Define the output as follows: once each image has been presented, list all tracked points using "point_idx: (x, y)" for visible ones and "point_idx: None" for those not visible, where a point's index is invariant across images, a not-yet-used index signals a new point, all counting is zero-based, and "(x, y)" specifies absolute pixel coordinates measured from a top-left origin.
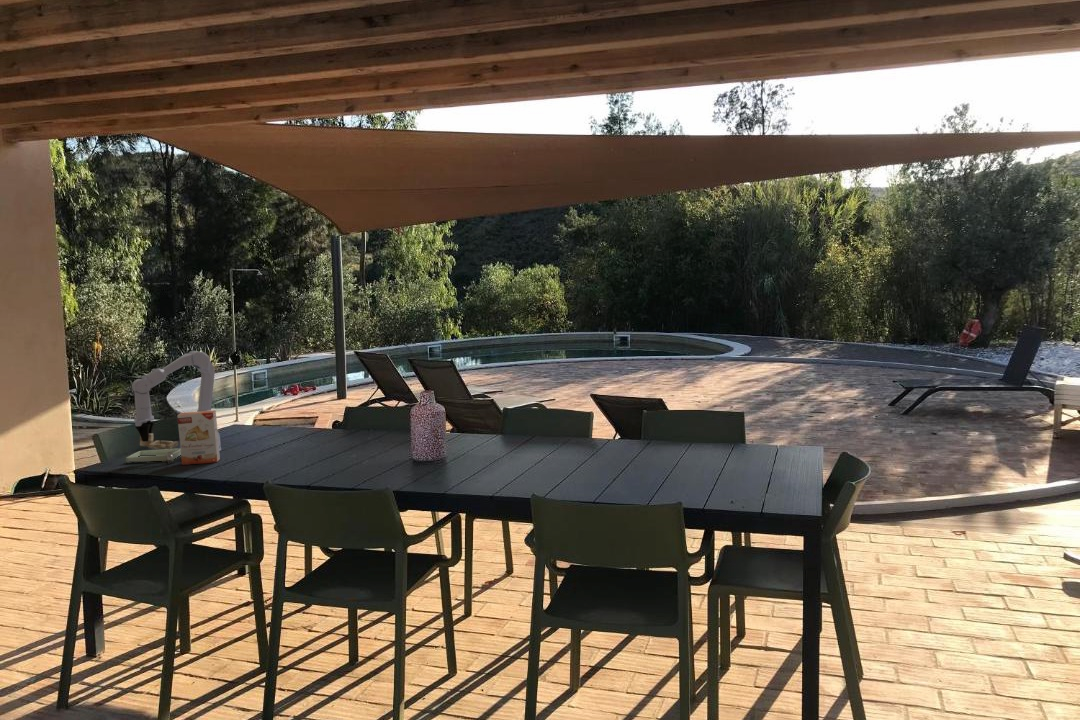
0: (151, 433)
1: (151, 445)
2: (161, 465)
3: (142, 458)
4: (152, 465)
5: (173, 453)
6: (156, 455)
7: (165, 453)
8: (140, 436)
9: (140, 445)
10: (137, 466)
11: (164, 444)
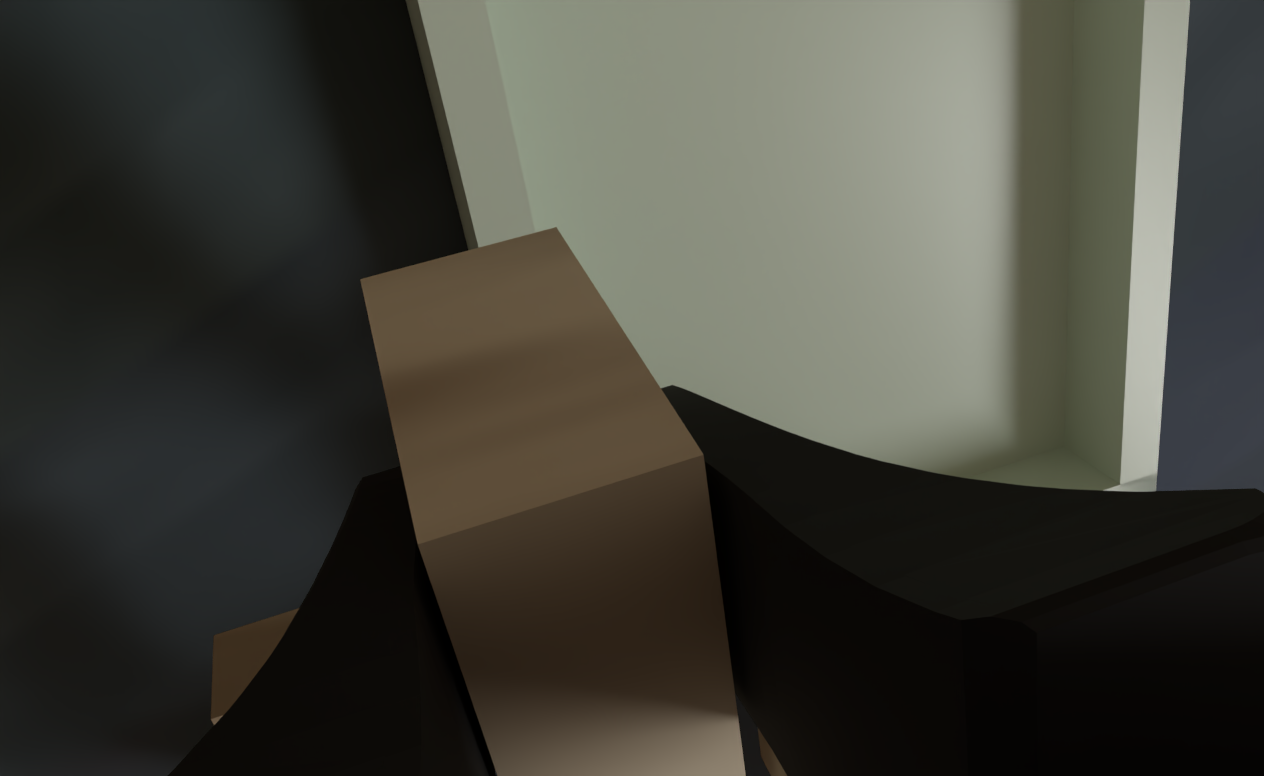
0: (725, 745)
1: None
2: (190, 695)
3: (447, 131)
4: (178, 522)
5: None
6: None
7: (1082, 190)
8: (408, 479)
9: (370, 299)
10: (47, 238)
11: None
